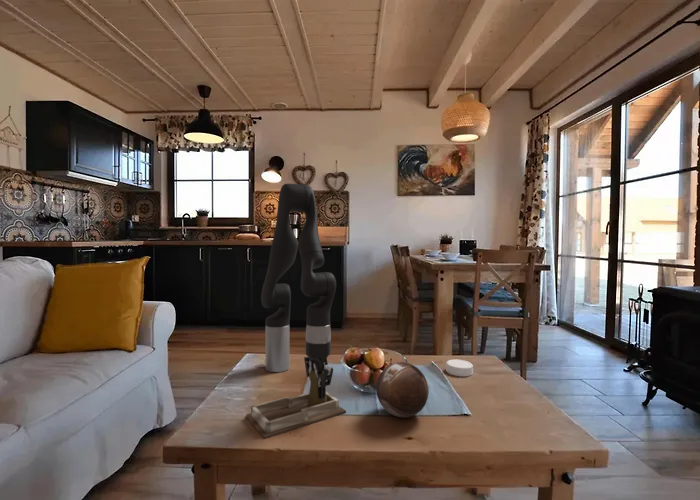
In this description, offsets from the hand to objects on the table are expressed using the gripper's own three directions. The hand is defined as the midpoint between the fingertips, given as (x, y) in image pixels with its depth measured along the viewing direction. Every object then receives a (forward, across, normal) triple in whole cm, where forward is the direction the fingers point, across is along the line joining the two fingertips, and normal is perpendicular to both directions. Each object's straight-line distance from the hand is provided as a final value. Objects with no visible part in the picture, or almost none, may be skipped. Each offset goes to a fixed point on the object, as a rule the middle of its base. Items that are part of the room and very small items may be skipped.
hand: (317, 395), depth 109 cm
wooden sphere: (+4, +17, +18) cm, 25 cm away
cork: (+3, 0, 0) cm, 3 cm away
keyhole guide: (+4, 0, -7) cm, 8 cm away
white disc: (+4, +4, +60) cm, 61 cm away
